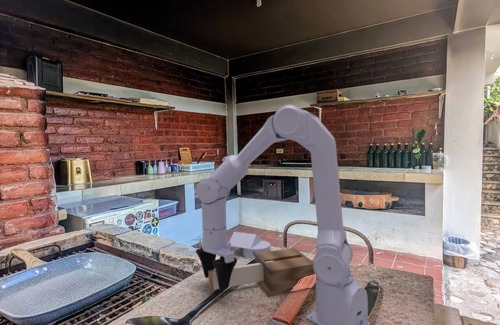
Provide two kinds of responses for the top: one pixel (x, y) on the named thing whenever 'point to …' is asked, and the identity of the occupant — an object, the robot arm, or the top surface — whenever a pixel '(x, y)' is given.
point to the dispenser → (283, 270)
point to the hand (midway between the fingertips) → (216, 282)
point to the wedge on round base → (249, 244)
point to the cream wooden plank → (239, 275)
